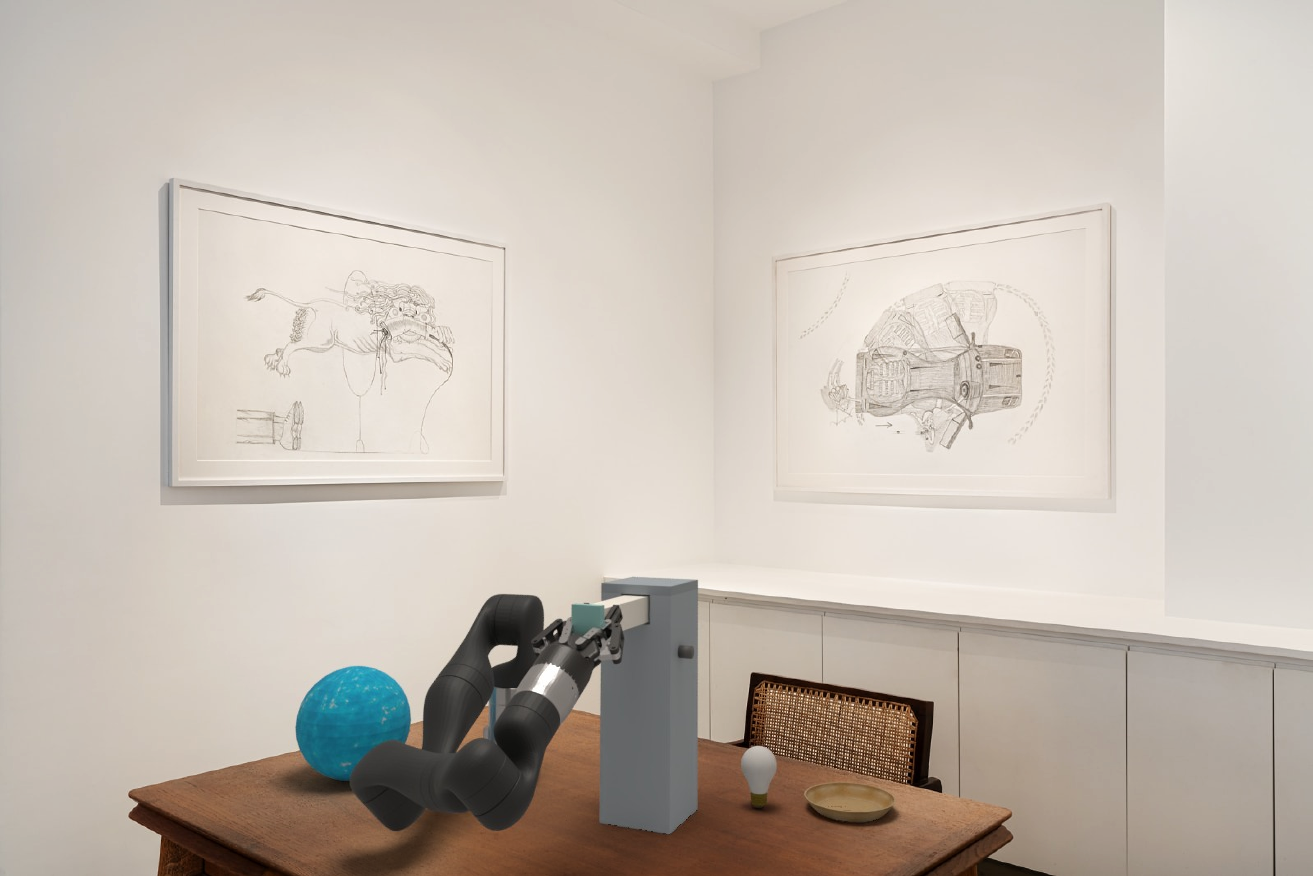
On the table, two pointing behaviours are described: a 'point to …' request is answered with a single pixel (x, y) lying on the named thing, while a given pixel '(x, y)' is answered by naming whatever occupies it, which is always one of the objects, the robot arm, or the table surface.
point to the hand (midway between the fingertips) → (602, 609)
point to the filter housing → (651, 711)
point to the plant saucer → (850, 801)
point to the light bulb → (758, 772)
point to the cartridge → (594, 614)
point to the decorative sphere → (350, 719)
